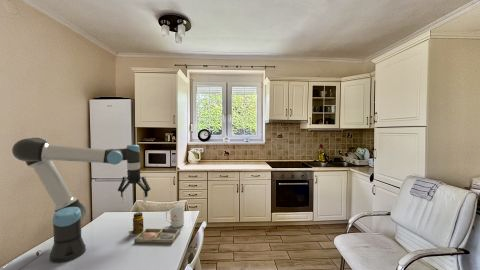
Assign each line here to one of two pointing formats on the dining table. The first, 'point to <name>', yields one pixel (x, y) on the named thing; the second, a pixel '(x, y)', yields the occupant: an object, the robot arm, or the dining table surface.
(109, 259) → the dining table surface
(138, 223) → the condiment
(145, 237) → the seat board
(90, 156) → the robot arm
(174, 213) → the mug
